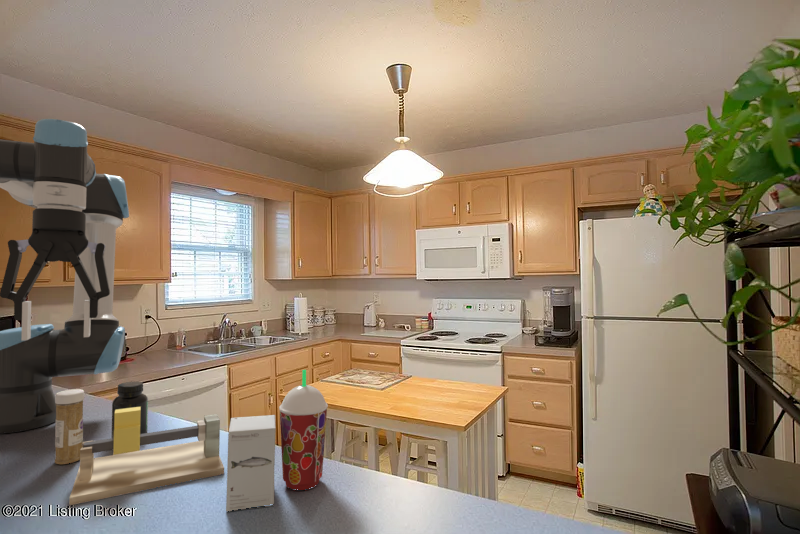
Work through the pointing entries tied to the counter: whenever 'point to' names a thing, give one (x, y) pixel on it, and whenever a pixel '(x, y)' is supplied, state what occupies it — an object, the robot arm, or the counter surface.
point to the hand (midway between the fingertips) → (57, 337)
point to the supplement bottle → (131, 402)
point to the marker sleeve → (127, 430)
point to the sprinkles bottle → (68, 425)
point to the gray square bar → (146, 438)
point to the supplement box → (250, 462)
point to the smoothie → (303, 435)
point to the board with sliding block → (149, 466)
